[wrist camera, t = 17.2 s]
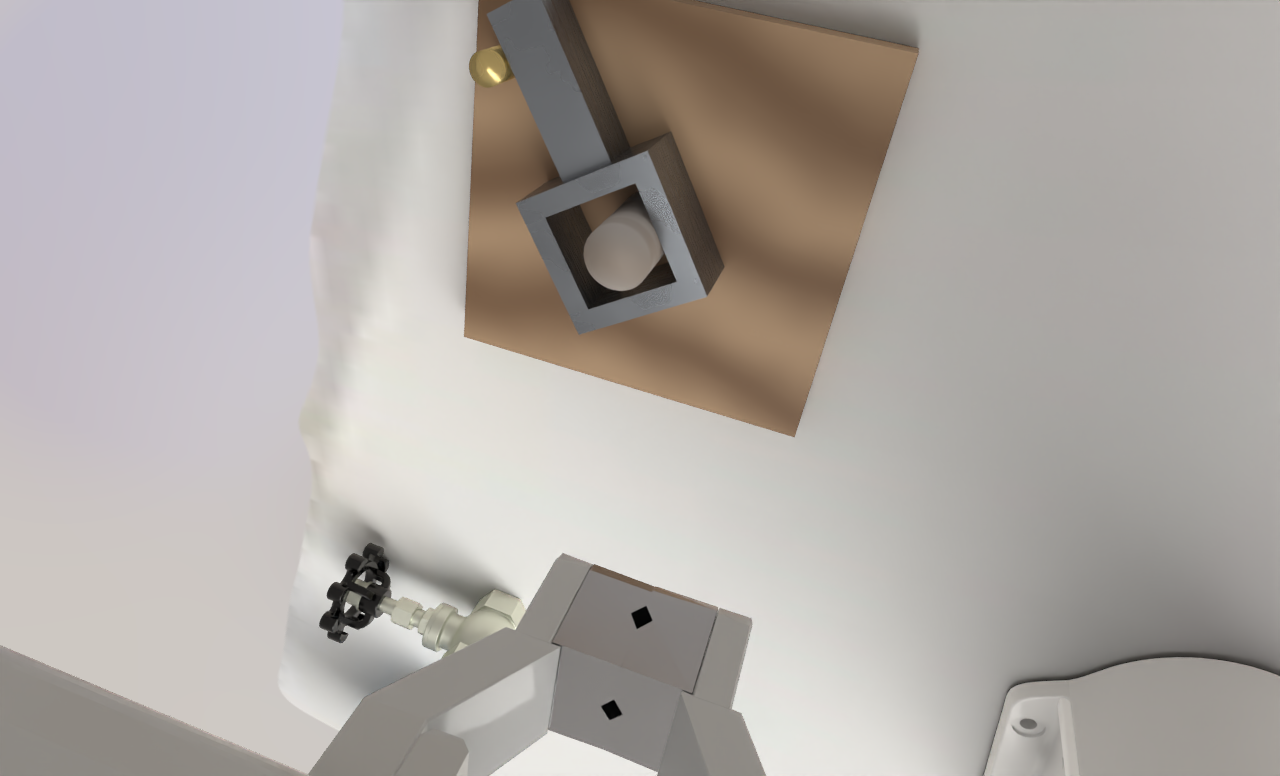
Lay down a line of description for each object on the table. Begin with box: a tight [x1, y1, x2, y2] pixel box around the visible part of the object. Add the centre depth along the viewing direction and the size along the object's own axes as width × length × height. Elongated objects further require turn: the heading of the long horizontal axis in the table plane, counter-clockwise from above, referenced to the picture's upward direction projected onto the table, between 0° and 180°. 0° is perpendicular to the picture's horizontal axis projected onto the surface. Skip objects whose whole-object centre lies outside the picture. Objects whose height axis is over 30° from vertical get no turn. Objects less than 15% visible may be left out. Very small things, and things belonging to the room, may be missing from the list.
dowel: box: [469, 45, 515, 88], centre depth 34 cm, size 1×1×4 cm
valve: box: [319, 543, 526, 659], centre depth 53 cm, size 7×7×12 cm
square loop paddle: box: [487, 0, 725, 335], centre depth 34 cm, size 13×6×4 cm, turn 24°
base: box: [464, 0, 919, 437], centre depth 35 cm, size 18×18×6 cm
